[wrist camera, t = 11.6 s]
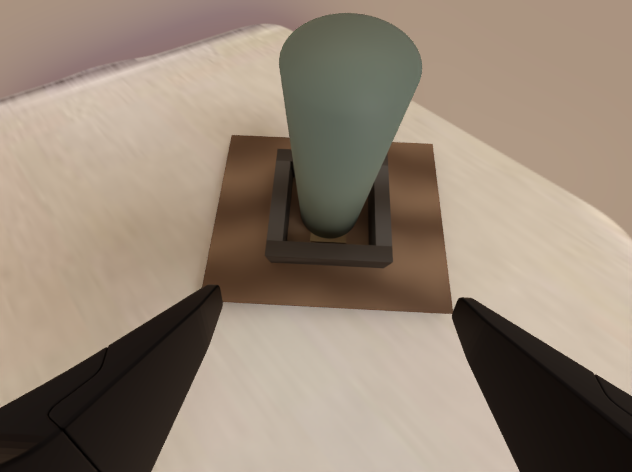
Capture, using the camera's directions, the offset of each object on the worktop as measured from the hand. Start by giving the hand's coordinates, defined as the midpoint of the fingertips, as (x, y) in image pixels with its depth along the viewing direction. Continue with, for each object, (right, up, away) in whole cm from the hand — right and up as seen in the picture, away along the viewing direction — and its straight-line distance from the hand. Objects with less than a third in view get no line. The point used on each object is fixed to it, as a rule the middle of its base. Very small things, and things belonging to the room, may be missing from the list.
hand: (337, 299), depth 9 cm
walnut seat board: (0, +4, +14) cm, 14 cm away
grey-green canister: (0, +5, +12) cm, 13 cm away
